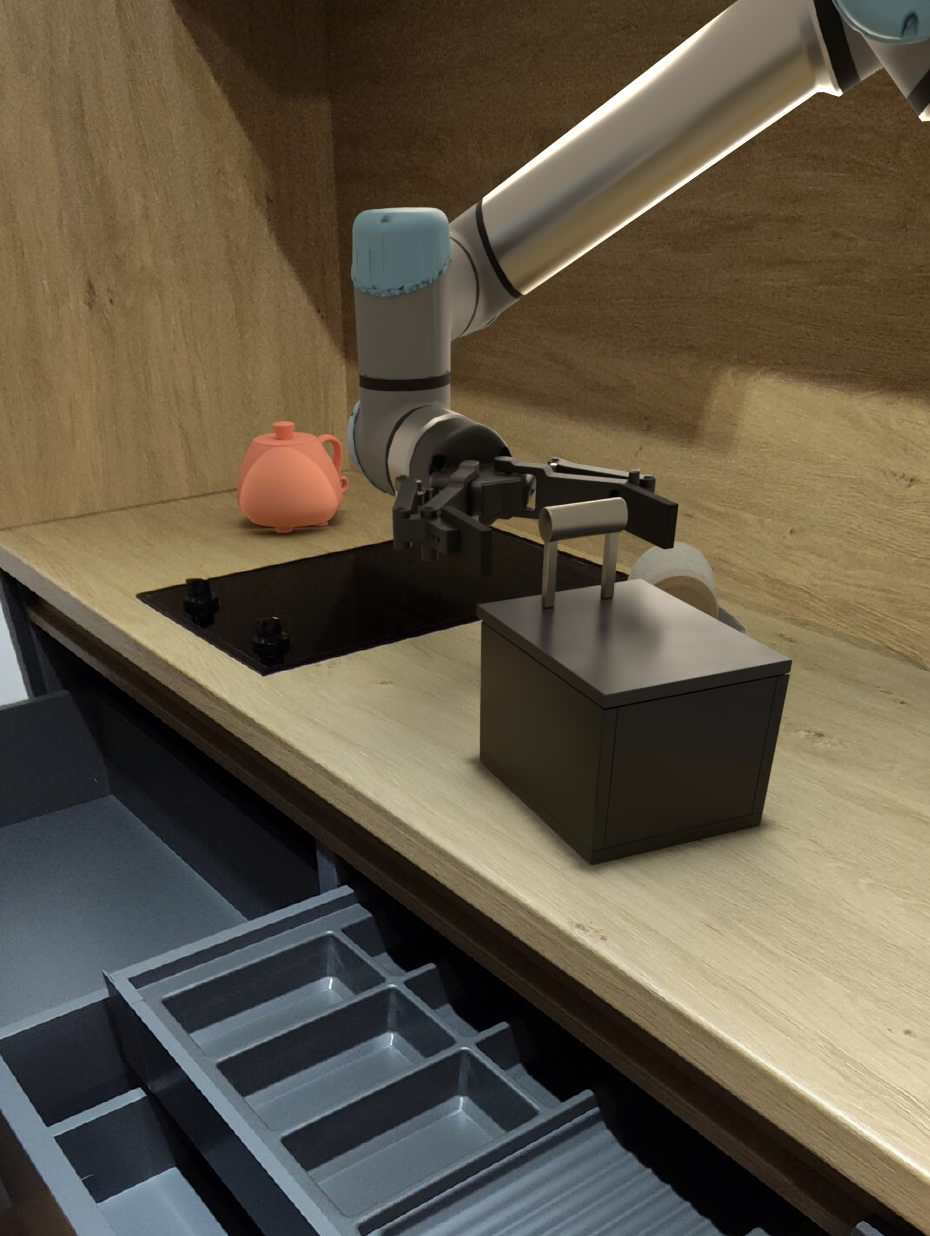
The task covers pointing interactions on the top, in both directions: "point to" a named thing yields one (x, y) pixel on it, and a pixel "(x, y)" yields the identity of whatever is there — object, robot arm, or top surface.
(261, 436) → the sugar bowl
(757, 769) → the bin
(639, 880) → the top surface
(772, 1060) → the top surface
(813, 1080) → the top surface
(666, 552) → the ceramic mug
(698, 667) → the bin lid
